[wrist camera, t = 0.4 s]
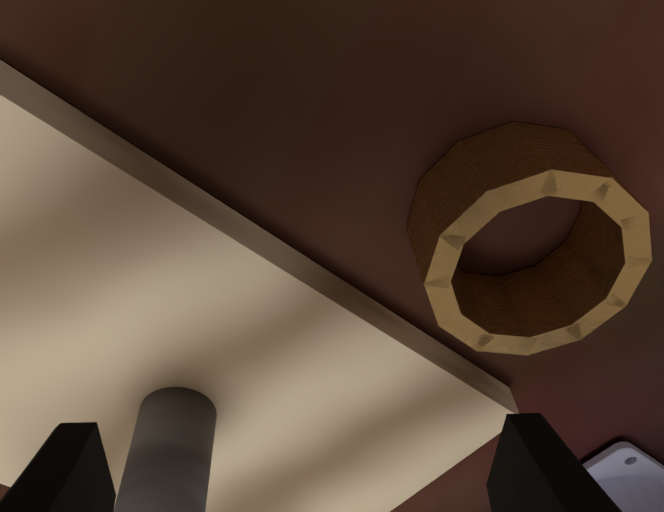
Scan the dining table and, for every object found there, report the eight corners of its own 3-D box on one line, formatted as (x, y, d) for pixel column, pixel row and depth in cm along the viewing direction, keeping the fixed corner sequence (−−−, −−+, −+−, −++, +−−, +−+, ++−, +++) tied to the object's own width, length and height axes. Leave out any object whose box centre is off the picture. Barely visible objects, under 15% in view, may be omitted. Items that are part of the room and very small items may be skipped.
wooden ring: (642, 200, 19) (694, 256, 17) (496, 319, 22) (523, 382, 19) (517, 80, 17) (557, 124, 14) (368, 229, 19) (381, 289, 17)
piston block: (508, 387, 24) (567, 534, 19) (285, 554, 29) (285, 701, 24) (-6, 55, 16) (-142, 161, 11) (-178, 375, 21) (-319, 540, 16)
